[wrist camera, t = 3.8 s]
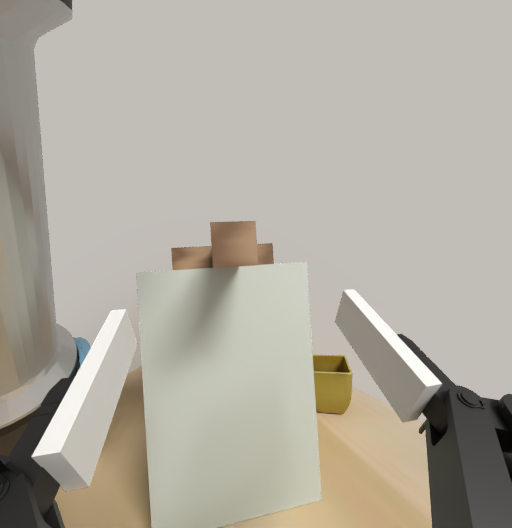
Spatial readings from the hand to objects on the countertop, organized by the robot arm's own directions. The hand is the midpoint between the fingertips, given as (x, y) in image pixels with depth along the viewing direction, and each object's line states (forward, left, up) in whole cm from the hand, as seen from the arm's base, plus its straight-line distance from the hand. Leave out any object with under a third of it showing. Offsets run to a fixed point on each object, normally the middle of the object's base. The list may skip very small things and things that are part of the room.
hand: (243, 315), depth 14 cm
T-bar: (0, +12, +3) cm, 12 cm away
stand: (0, +18, -27) cm, 32 cm away
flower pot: (+20, +30, -27) cm, 45 cm away
